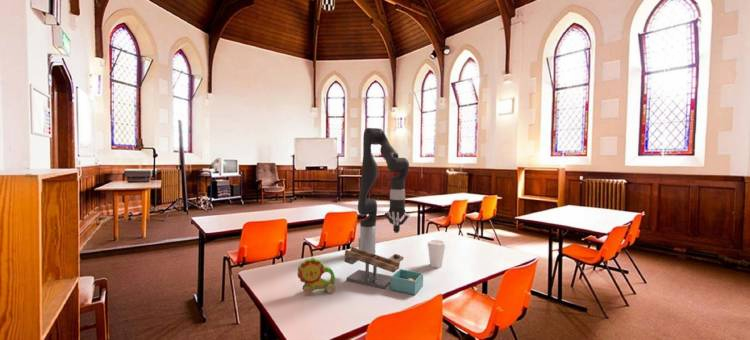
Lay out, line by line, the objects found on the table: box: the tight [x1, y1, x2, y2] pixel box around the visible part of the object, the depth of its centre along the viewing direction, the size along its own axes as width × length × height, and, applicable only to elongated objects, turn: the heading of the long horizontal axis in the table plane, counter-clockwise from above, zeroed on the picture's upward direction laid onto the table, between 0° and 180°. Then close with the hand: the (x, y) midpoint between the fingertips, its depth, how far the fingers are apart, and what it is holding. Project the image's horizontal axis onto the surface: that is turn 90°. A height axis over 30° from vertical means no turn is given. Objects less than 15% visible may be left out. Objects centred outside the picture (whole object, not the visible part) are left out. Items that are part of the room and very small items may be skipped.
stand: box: [345, 262, 393, 290], centre depth 154 cm, size 20×12×10 cm, turn 64°
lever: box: [344, 246, 404, 274], centre depth 159 cm, size 26×18×6 cm
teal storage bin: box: [390, 268, 424, 296], centre depth 146 cm, size 11×11×6 cm
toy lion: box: [297, 257, 336, 296], centre depth 139 cm, size 16×5×15 cm, turn 105°
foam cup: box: [427, 239, 446, 269], centre depth 175 cm, size 10×9×13 cm
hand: (396, 232), depth 161 cm, fingers closed
